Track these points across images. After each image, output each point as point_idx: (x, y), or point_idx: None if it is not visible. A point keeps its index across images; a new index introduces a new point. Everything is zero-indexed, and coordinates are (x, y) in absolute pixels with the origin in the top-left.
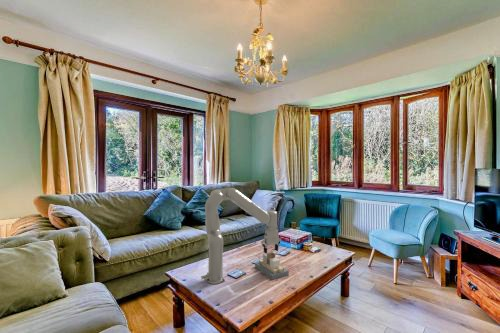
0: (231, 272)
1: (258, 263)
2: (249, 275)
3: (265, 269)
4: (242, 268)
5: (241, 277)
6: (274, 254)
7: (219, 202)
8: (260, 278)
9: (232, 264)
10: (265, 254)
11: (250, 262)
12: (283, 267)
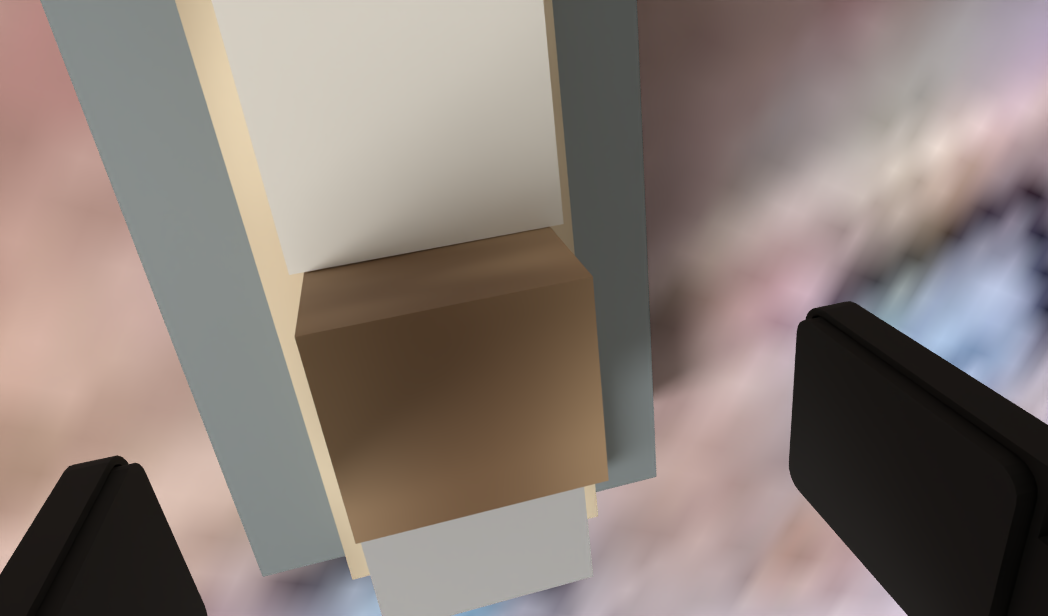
0: (982, 376)
1: (612, 440)
2: (823, 209)
3: (614, 133)
4: None
5: (961, 186)
6: (343, 320)
7: None
8: (717, 27)
9: (844, 583)
10: (532, 553)
11: (587, 607)
12: (69, 70)
